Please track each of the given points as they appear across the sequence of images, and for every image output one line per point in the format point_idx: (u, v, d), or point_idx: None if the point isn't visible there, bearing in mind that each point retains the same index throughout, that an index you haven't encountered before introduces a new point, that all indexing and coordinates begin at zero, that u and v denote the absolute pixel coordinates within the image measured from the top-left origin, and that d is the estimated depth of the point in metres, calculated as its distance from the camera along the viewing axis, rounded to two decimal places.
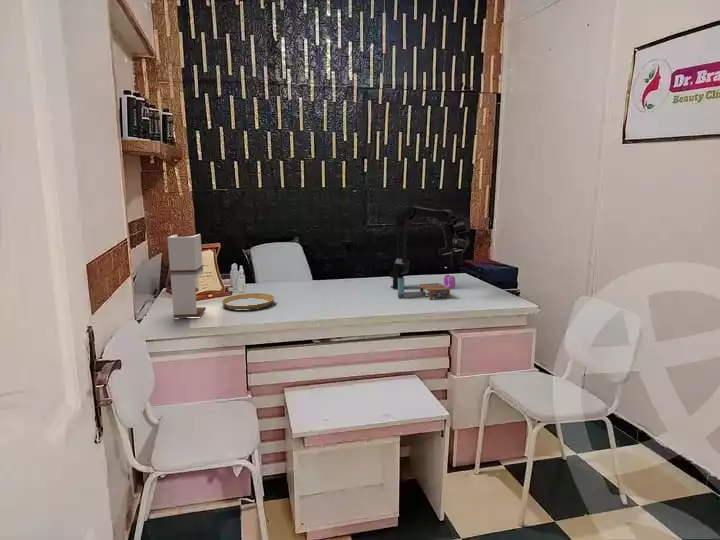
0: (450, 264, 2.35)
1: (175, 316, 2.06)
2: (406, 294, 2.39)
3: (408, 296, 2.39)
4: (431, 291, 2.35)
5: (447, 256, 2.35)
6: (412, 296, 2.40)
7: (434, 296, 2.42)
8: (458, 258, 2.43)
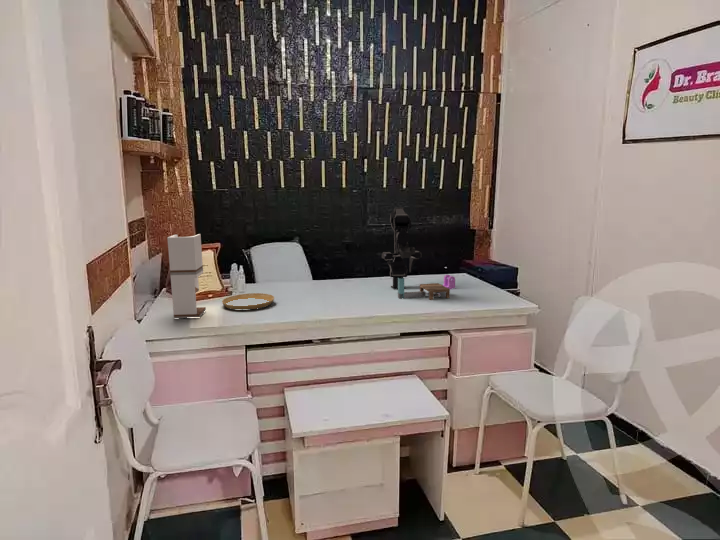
0: (391, 269, 2.36)
1: (175, 316, 2.06)
2: (406, 294, 2.39)
3: (408, 296, 2.39)
4: (431, 291, 2.35)
5: None
6: (412, 296, 2.40)
7: (434, 296, 2.42)
8: (410, 265, 2.38)
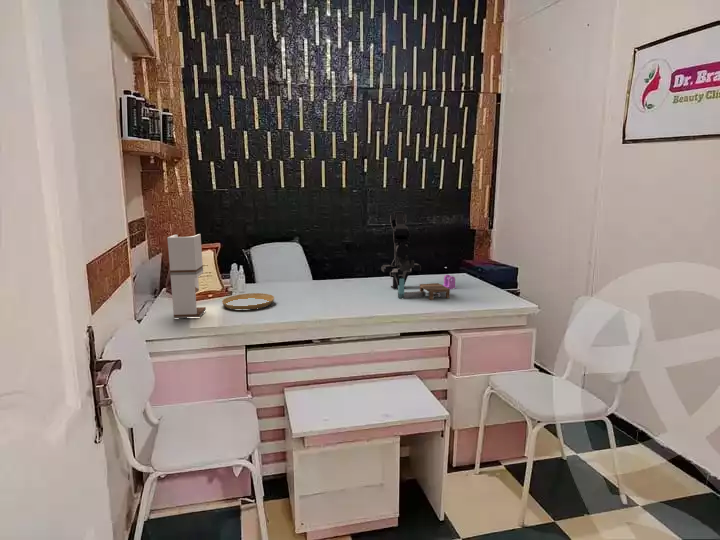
0: (397, 282, 2.38)
1: (175, 316, 2.06)
2: (406, 294, 2.39)
3: (408, 296, 2.39)
4: (431, 291, 2.35)
5: None
6: (412, 296, 2.40)
7: (434, 296, 2.42)
8: None
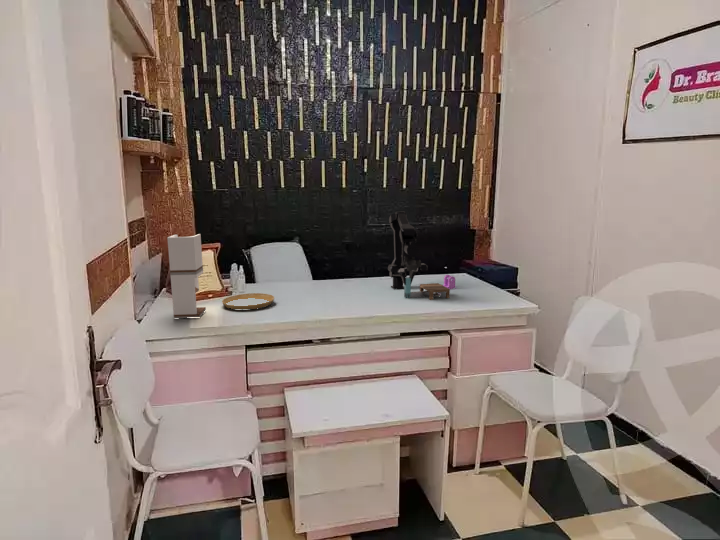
0: (403, 281, 2.39)
1: (175, 316, 2.06)
2: (412, 294, 2.40)
3: (414, 296, 2.40)
4: (431, 291, 2.35)
5: (402, 273, 2.38)
6: (418, 296, 2.41)
7: (435, 296, 2.42)
8: None
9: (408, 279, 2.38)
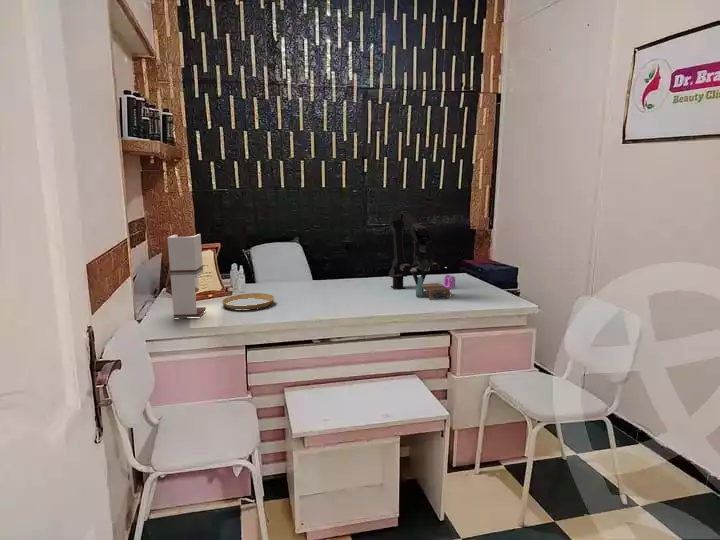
0: (415, 281, 2.40)
1: (175, 316, 2.06)
2: (424, 293, 2.41)
3: (426, 295, 2.41)
4: (431, 291, 2.35)
5: (414, 272, 2.40)
6: None
7: None
8: None
9: (420, 278, 2.39)
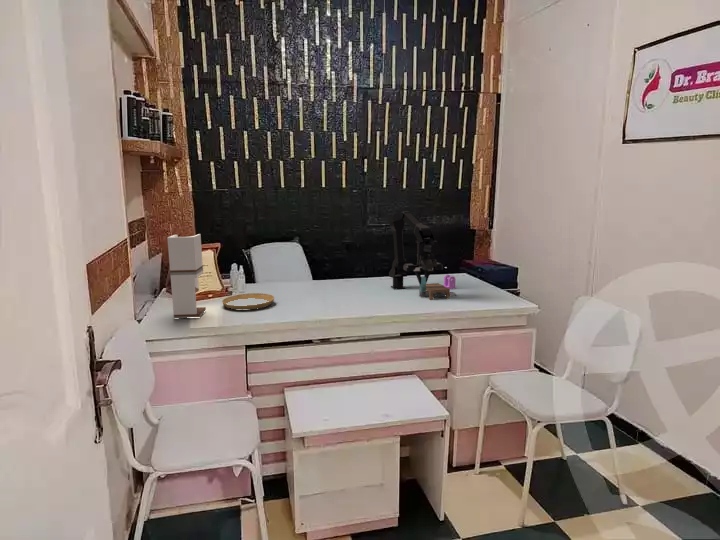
0: (418, 280, 2.41)
1: (175, 316, 2.06)
2: (428, 293, 2.41)
3: None
4: (431, 291, 2.35)
5: None
6: (433, 295, 2.42)
7: None
8: None
9: (423, 278, 2.40)
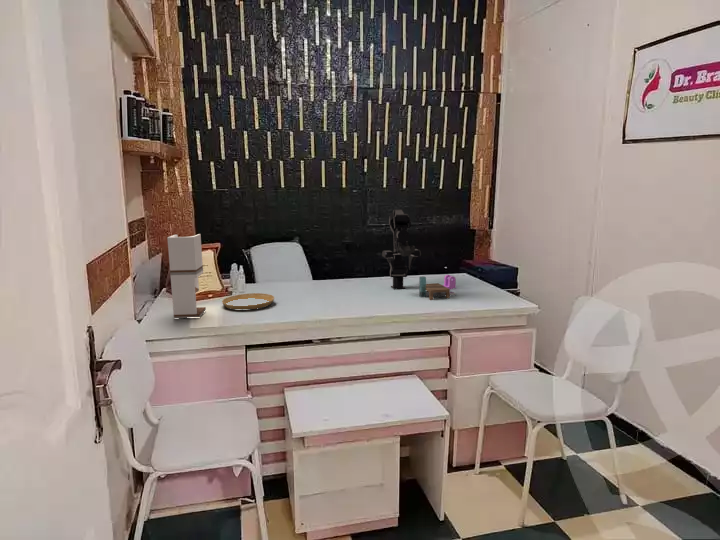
0: (391, 267, 2.42)
1: (175, 316, 2.06)
2: (428, 293, 2.41)
3: None
4: (431, 291, 2.35)
5: (390, 259, 2.42)
6: (433, 295, 2.42)
7: None
8: (409, 263, 2.45)
9: (423, 278, 2.40)
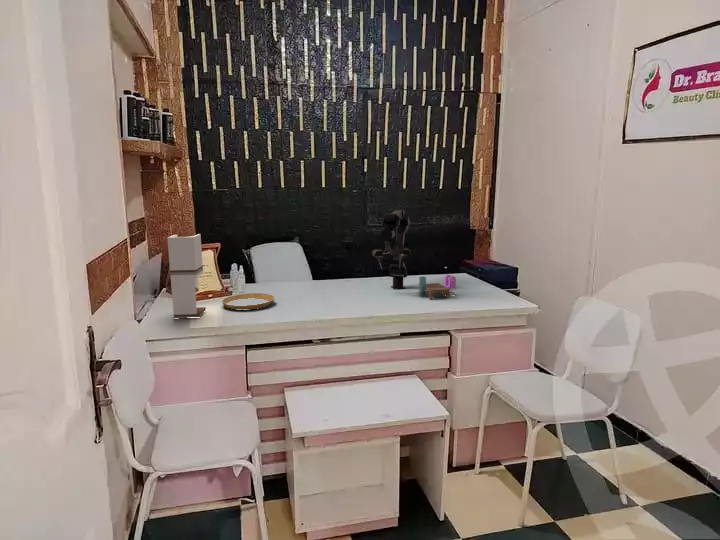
0: (381, 266, 2.44)
1: (175, 316, 2.06)
2: (428, 293, 2.41)
3: None
4: (431, 291, 2.35)
5: None
6: (433, 295, 2.42)
7: None
8: (400, 263, 2.46)
9: (423, 278, 2.40)
